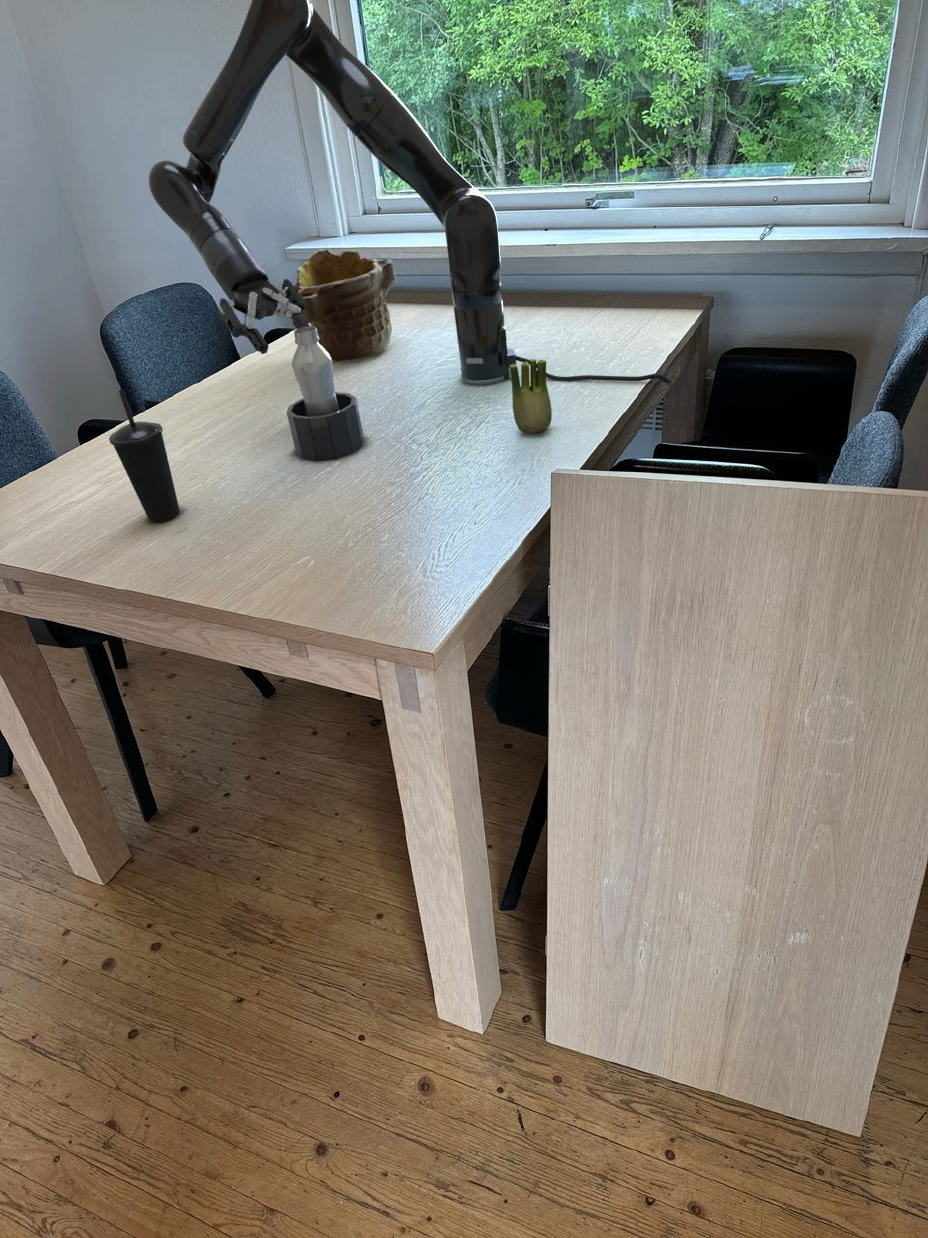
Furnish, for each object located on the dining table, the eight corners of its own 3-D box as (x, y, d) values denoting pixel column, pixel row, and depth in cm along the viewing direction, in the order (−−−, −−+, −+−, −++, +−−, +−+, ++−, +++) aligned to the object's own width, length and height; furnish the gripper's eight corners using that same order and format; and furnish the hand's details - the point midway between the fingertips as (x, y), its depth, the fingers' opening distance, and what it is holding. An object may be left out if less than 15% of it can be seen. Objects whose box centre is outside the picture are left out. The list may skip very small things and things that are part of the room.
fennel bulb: (513, 436, 145) (506, 365, 138) (522, 424, 148) (516, 355, 142) (546, 437, 143) (541, 365, 136) (555, 426, 146) (550, 355, 140)
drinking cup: (145, 507, 138) (101, 385, 127) (192, 501, 138) (153, 378, 127) (134, 530, 132) (87, 403, 121) (184, 523, 132) (141, 395, 121)
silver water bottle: (343, 453, 147) (318, 334, 136) (305, 454, 149) (278, 337, 138) (354, 438, 152) (331, 322, 141) (318, 439, 154) (292, 324, 143)
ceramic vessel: (400, 330, 175) (309, 231, 169) (332, 402, 190) (245, 314, 183) (437, 296, 192) (355, 205, 186) (371, 365, 207) (294, 283, 201)
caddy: (366, 429, 155) (358, 388, 151) (360, 456, 146) (352, 413, 141) (302, 437, 156) (292, 396, 152) (292, 464, 146) (282, 421, 142)
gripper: (199, 260, 139) (255, 341, 138) (273, 240, 147) (327, 316, 146) (193, 291, 146) (246, 369, 145) (264, 270, 153) (315, 344, 152)
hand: (287, 343), depth 145 cm, fingers open, 8 cm apart
